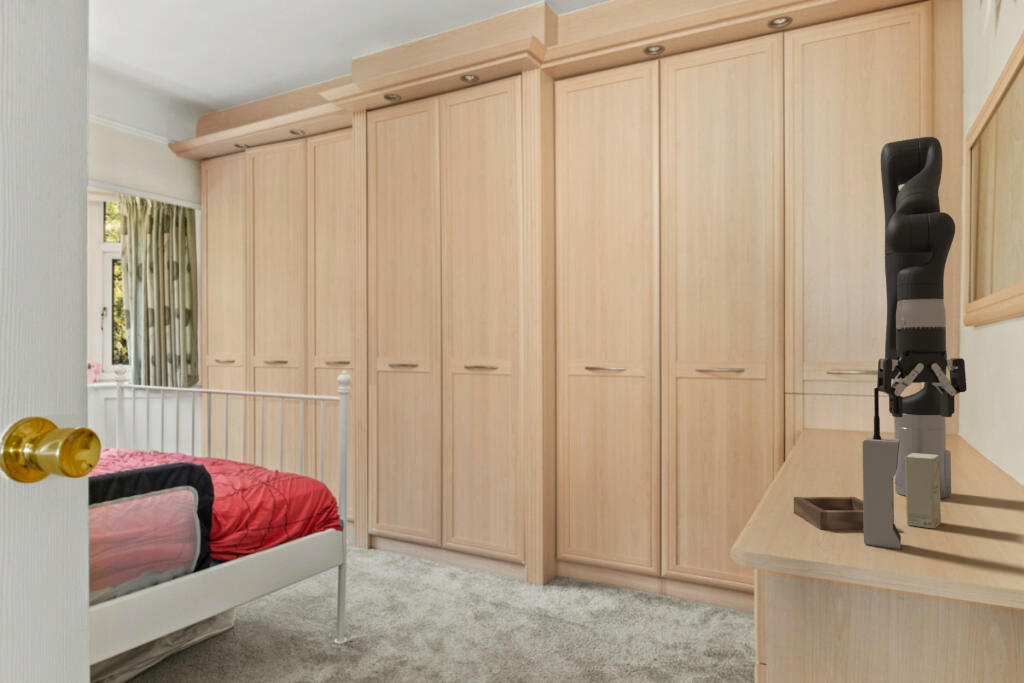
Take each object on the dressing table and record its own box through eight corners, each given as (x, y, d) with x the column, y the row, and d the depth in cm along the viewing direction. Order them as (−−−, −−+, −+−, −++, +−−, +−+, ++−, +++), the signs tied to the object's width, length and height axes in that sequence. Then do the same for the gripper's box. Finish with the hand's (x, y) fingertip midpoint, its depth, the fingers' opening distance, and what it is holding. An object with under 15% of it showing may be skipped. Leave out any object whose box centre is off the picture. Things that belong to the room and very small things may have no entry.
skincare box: (935, 529, 112) (934, 458, 112) (905, 525, 115) (904, 456, 115) (941, 522, 117) (940, 454, 117) (912, 518, 120) (911, 451, 120)
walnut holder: (854, 512, 124) (854, 496, 124) (887, 529, 112) (887, 512, 112) (793, 512, 124) (793, 497, 124) (820, 529, 113) (820, 512, 113)
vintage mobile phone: (900, 550, 101) (898, 388, 101) (863, 544, 104) (861, 387, 104) (901, 543, 104) (899, 387, 104) (865, 539, 107) (863, 386, 107)
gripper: (947, 326, 120) (948, 414, 119) (869, 326, 120) (869, 414, 120) (975, 324, 112) (976, 419, 112) (891, 325, 113) (892, 419, 112)
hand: (921, 416), depth 116 cm, fingers open, 8 cm apart
